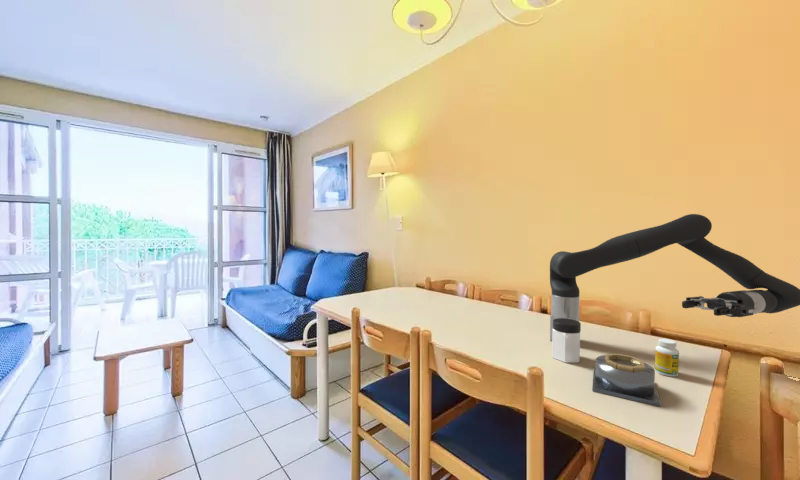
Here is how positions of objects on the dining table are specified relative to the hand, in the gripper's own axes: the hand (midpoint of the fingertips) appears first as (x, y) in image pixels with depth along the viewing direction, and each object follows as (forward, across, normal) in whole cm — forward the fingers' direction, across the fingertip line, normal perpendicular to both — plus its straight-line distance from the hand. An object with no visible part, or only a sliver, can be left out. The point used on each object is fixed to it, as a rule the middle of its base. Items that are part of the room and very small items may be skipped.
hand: (698, 308), depth 96 cm
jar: (+32, -16, +18) cm, 40 cm away
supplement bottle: (+12, 0, +18) cm, 22 cm away
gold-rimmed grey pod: (+31, +4, +18) cm, 35 cm away
